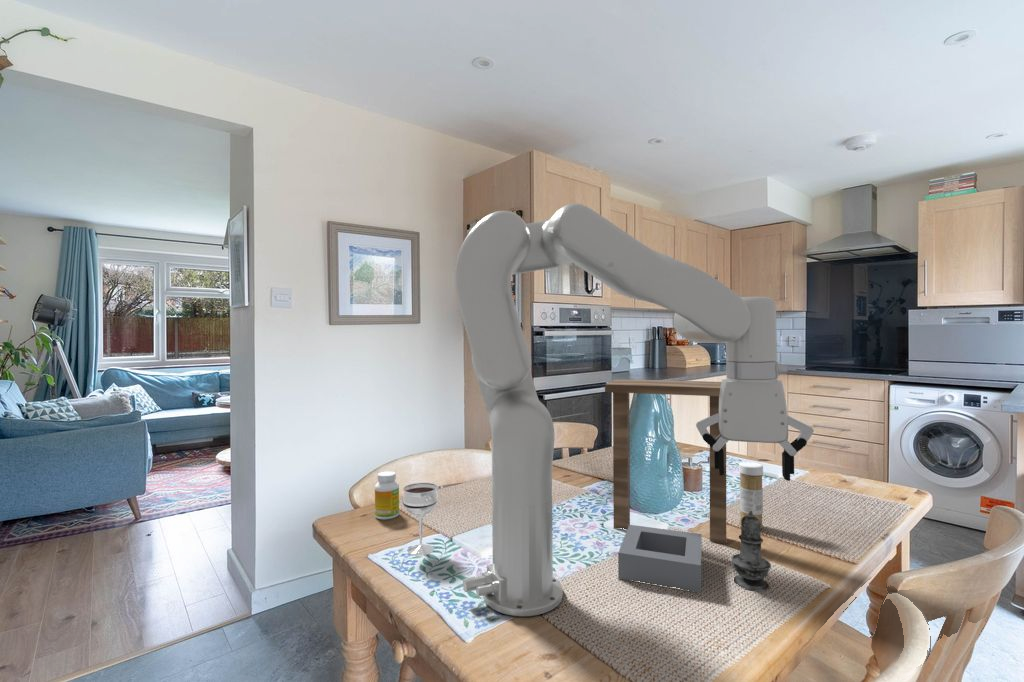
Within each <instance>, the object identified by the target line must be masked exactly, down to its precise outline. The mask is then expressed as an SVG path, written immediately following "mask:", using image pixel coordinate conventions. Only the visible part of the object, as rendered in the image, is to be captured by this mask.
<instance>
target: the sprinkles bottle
mask: <svg viewBox="0 0 1024 682" xmlns="http://www.w3.org/2000/svg"><path fill="white" fill-rule="evenodd" d="M738 467H739V468H738V469H739V470H738V471H739V475H740V476H739V478H740V479H739V480H740V481H739V482H740V483H739V513H740V514H739V516H740V518H739V525H740V526H741V520H742V518H743V517H744V516H748V515H749V512H750V511H751V512H752V513H753V514H752V515H753V516H754V517H756V518H758V519H759V520H760V523H761V530H762V529H763V528H764V525H763V513H764V505H763V504H764V501H763V500H764V498H763V497H764V489H763V475H764V466H763V464H761V463H759V462H753V461H743V462H740V463H739V465H738Z"/></svg>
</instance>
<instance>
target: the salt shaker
mask: <svg viewBox="0 0 1024 682" xmlns="http://www.w3.org/2000/svg"><path fill="white" fill-rule="evenodd" d="M752 514H753V513H752V512H751V511H750V512H749V515H748V516H744V517H743V518H742V520H741V525H740V526H741V527H740V529H741V530H740V533H741V534H739V536H738V539H739V540H740V551H739V553H736V554H734V555H732V556H731V562H732V563H733V567H734V570H735V571H736V573H737V574H735V576H733V578H734V580H733V582H734V584H735V583H736V584H735V585H737V584H738V585H739V586H738V585H737V586H738V587H740V586H741V587H743V588H742V589H744V588H745V589H744V590H747V591H750V592H751V591H752V592H764V591H767V590H768V589H770V585H769V583H768V582H767V581H766V580H765V578H766V577H767V576H768V574H769V571H770V569H771V567H772V563H771V562H770V561H769V560H767V559H766V558H764V557H763V555H762V543H763V542H764V539H763V538H762V537H761V533H762V532H761V530H762V529H761V523H760V520H759V519H758V518H756V517H754V516H753V515H752ZM741 587H740V588H741Z"/></svg>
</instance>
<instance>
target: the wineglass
mask: <svg viewBox="0 0 1024 682" xmlns="http://www.w3.org/2000/svg"><path fill="white" fill-rule="evenodd" d="M438 488H439V486H438V485H437V484H435V483H432V482H414V483H410V484H408V485H405V486H404V487H402V490H403V492H404V494H403V496H402V505H403V507H404V509H405V510H406V511H407V512H409V513H410V514H411V515H414V516H416V517H417V518H418V532H419V544H416V545H413V546H411V547H409V548H408V549H407V553H408V554H409V555H412V556H415V557H416V556H418V557H419V556H425V555H429V554H432V553H433V552H434V550H435V548H434V546H433V545H430V544H427V543H426V544H424V543H423V527H424V526H423V524H424V523H423V518H424V517H425V516H426V515H427V514H430V513H431V512H432V511H433V510H434V509H435V508H436V507H437V504H438V502H439V501H438V500H439V494H438V492H437V490H438Z"/></svg>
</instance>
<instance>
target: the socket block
mask: <svg viewBox="0 0 1024 682" xmlns="http://www.w3.org/2000/svg"><path fill="white" fill-rule="evenodd" d="M617 553H618V554H617V555H618V557H617V558H618V559H617V561H618V563H617V564H618V565H617V567H618V571H617V573H618V578H617V579H618V580H620V579H623V580H622V581H626V580H633V581H640V582H645V583H650V584H657V585H662V586H667V587H676V588H680V589H683V590H689V591H694V592H693V593H695V592H699V593H698V594H702V563H701V562H702V557H703V556H702V553H703V552H702V533H697V532H696V533H695V532H689V531H688V532H687V531H682V530H673V529H665V528H659V527H652V526H643V525H634V524H630V525H629V527H628V529H627V530H626V533H625V534H624V537H623V539H622V542H621V544H620V547H619V550H618V552H617ZM683 590H682V591H683ZM689 591H688V592H689Z"/></svg>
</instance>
